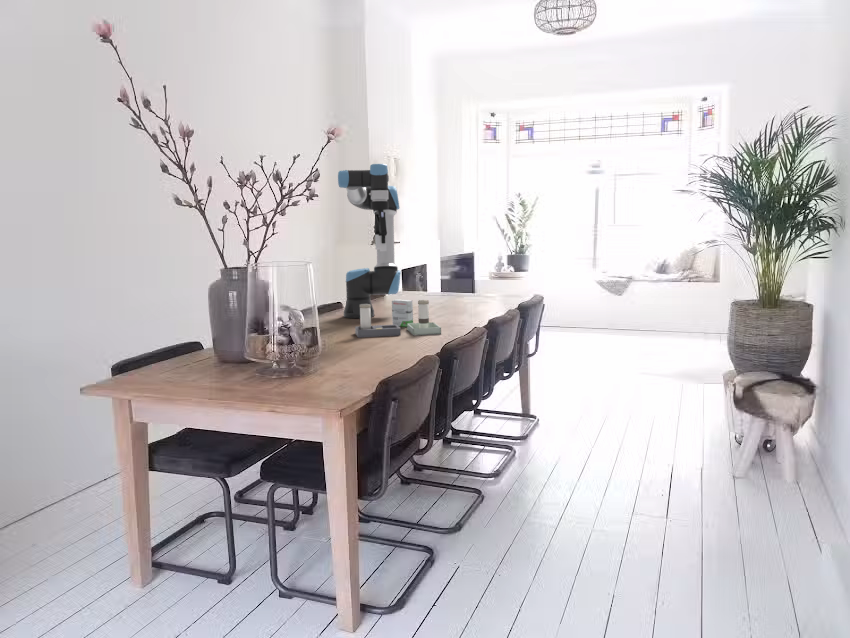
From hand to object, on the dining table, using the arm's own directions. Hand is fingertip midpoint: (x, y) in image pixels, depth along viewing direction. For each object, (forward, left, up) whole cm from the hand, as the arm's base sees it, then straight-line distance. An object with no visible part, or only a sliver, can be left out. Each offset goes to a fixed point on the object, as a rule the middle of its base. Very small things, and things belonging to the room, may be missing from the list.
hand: (380, 250), depth 306 cm
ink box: (-6, +10, -35) cm, 37 cm away
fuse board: (+12, -4, -35) cm, 37 cm away
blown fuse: (+12, +16, -34) cm, 40 cm away
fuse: (+12, -9, -35) cm, 38 cm away
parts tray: (+12, +16, -35) cm, 40 cm away
